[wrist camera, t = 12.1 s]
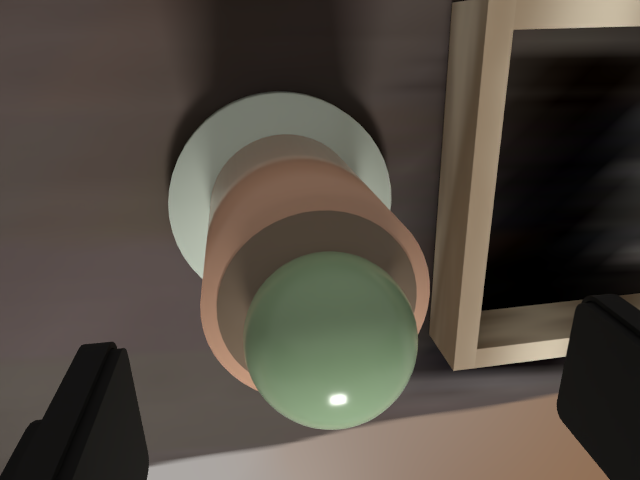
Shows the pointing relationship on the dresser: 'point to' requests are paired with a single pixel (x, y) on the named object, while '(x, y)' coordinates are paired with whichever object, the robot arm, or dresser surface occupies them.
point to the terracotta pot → (310, 284)
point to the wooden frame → (492, 182)
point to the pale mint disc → (250, 125)
